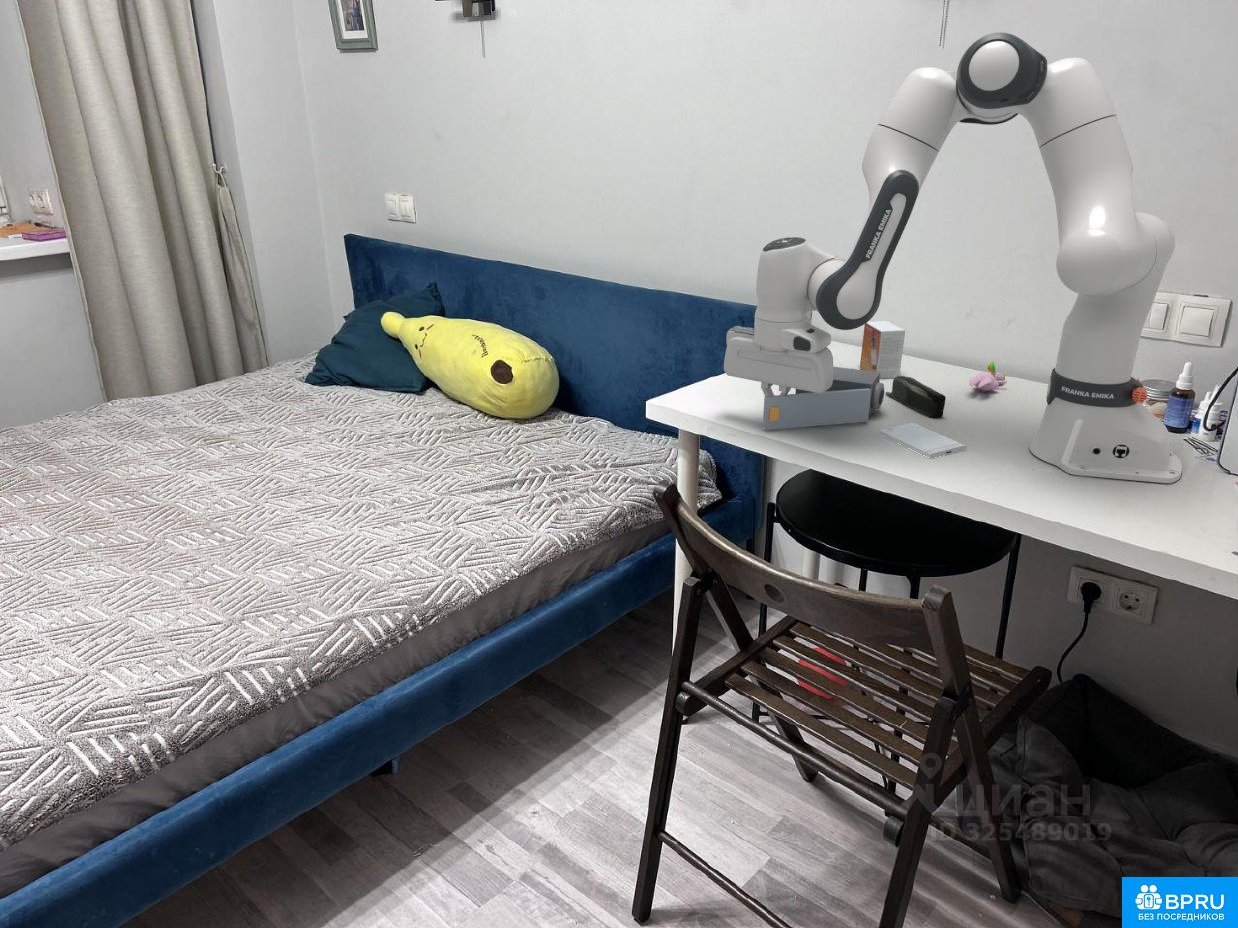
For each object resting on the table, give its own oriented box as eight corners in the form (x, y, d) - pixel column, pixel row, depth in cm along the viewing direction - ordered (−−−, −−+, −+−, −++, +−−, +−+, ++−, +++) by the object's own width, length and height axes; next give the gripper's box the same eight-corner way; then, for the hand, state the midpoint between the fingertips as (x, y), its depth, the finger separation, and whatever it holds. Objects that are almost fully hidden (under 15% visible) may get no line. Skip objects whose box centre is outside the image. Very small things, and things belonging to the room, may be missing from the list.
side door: (865, 419, 167) (868, 388, 164) (869, 422, 165) (872, 391, 163) (762, 427, 163) (764, 396, 161) (765, 430, 162) (767, 399, 159)
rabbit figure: (980, 384, 190) (957, 391, 179) (986, 357, 189) (963, 362, 177) (1011, 390, 187) (989, 398, 175) (1017, 362, 185) (995, 368, 174)
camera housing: (884, 408, 173) (889, 369, 170) (875, 421, 167) (880, 381, 164) (805, 397, 180) (808, 359, 177) (794, 409, 173) (797, 370, 170)
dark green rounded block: (949, 394, 167) (897, 369, 179) (936, 396, 166) (885, 371, 178) (945, 419, 169) (894, 393, 181) (932, 421, 168) (882, 395, 180)
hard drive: (879, 429, 160) (931, 453, 150) (914, 421, 164) (967, 444, 153) (878, 438, 161) (930, 462, 151) (913, 430, 164) (965, 453, 154)
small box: (859, 368, 197) (863, 321, 193) (883, 367, 198) (888, 320, 194) (875, 379, 190) (880, 331, 185) (900, 378, 190) (905, 329, 186)
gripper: (718, 328, 162) (716, 400, 167) (825, 345, 151) (819, 422, 156) (735, 320, 167) (732, 391, 172) (840, 336, 156) (833, 412, 161)
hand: (774, 406), depth 164 cm, fingers closed
